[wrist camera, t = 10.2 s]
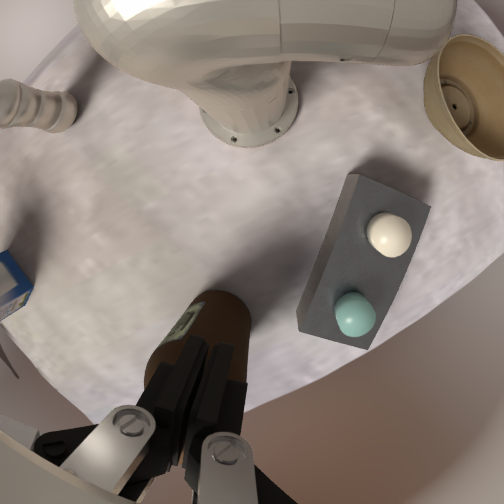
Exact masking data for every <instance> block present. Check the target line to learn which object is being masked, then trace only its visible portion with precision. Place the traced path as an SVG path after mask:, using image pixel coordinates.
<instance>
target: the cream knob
mask: <svg viewBox="0 0 504 504" xmlns="http://www.w3.org/2000/svg"><path fill="white" fill-rule="evenodd" d="M367 238H368V241H369V243H370V244H371V245H372V246H373V247H374V248H375V249H376V250H378V251H379V252H380V253H381V254H383V255H384V256H387V257H397V256H400V255H401V254H403V253H404V252H405V251H406V250H407V249H408V247H409V245H410V243H411V239H412V232H411V228H410V226H409V224H408V223H407V222H406V221H405V220H404V219H403V218H401V217H398V216H396V215H393V214H390V213H379V214H377V215H375V216H374V217H373V218H372V219H371V220H370V222H369V224H368V227H367Z"/></svg>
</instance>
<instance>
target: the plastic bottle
mask: <svg viewBox="0 0 504 504" xmlns="http://www.w3.org/2000/svg"><path fill="white" fill-rule="evenodd" d="M77 111H78V106H77V102H76V99H75V98H74V97H73V96H72V95H70V94H69V93H67V92H59V91H56V92H50V91H42V90H39V89H35V88H32V87H29V86H27V85H25V84H23V83H20V82H18V81H16V80H13V79H5V80H2V81H0V129H4V128H10V127H33V128H38V129H42V130H44V131H46V132H49V133H58V132H63V131H65V130H66V129H67V128H69V127H70V126H71V124H72V123H73V122H74V120H75V118H76V115H77Z"/></svg>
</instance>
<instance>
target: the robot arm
mask: <svg viewBox="0 0 504 504" xmlns="http://www.w3.org/2000/svg"><path fill="white" fill-rule="evenodd" d="M74 8H75V13H76V18H77V21H78V23H79V26H80V28H81V30H82V32H83V34H84V36H85V37H86V39H87V41H88V42H89V43H90V45H91V46H92V47H93V48H94V49H95V51H96V52H98V53H99V54H100V55H101V56H102V57H103V58H104V59H105V60H106V61H108V62H109V63H110V64H112V65H113V66H115V67H116V68H118V69H120V70H121V71H123V72H125V73H127V74H129V75H131V76H133V77H136V78H139V79H141V80H144V81H147V82H150V83H154V84H157V85H161V86H165V87H169V88H172V89H176V90H180V91H181V92H183V93H184V94H186V95H187V96H188V97H189V98H190V99H191V100H192V101H194V102H195V103H196V104H197V105H198V106H199V108H200V114H201V117H202V119H203V122H204V123H205V125H206V127H207V128H208V130H209V131H210V132H211V133H212V134H213V135H214V136H216V137H217V138H218V139H220V140H222V141H223V142H225V143H227V144H230V145H233V146H237V147H243V148H252V147H259V146H264V145H266V144H269V143H271V142H273V141H275V140H276V139H278V138H279V137H281V136H282V135H283V134H284V133H285V132H286V131H287V130H288V128H289V127H290V126H291V124H292V123H293V120H294V118H295V116H296V113H297V109H298V92H297V89H296V86H295V83H294V82H293V80H292V78H291V76H290V70H291V62H292V61H327V62H349V63H362V64H364V63H366V64H377V65H391V66H409V65H416V64H420V63H423V62H426V61H427V60H429V59H431V58H433V57H434V56H435V55H436V54H437V53H438V52H439V51H440V50H441V49H442V48H443V46H444V45H445V43H446V41H447V40H448V38H449V36H450V33H451V30H452V28H453V24H454V20H455V16H456V8H457V0H74ZM289 91H292V92H293V93H292V94H289ZM276 129H279V130H280V132H278V133H277V132H276ZM234 138H237V141H236V142H234V141H233V139H234ZM209 345H210V343H209V342H205V337H201V336H197V335H194V334H190V336H189V338H188V340H187V342H186V344H185V346H184V348H183V350H182V352H181V354H180V356H179V358H178V360H177V362H176V364H172V363H168V362H165V361H161V362H160V364H159V366H158V367H157V369H156V371H155V372H154V374H153V376H152V378H151V379H150V381H149V383H148V385H147V386H146V388H145V390H144V392H143V393H142V395H141V397H140V399H139V401H138V402H137V404H136V406H134V405H123V406H119V407H117V408H115V409H114V410H112V411H111V412H110V413H109V414H108V415H107V416H106V417H105V418H104V420H103V421H102V422H101V423H100V424H96V425H91V426H85V427H79V428H73V429H68V430H61V431H54V432H48V433H45V434H42V433H39V431H38V429H35V428H33V427H30V426H27V425H25V424H22V423H20V422H17V421H15V420H12V419H10V418H8V417H5V416H3V415H1V414H0V504H140V503H141V501H142V500H143V498H144V496H145V495H146V493H147V492H148V490H149V489H150V487H151V485H152V483H153V482H154V480H155V477H156V476H159V475H162V474H165V472H166V471H168V472H169V471H170V468H171V465H174V466H177V465H178V463H179V460H180V457H181V454H182V451H183V448H184V455H183V462H182V468H185V469H186V471H185V478H184V479H185V481H186V482H187V483H188V484H189V486H190V487H191V488H192V489H193V492H192V504H297V503H296V502H295V501H294V500H293V499H292V498H290V497H289V496H288V495H287V494H286V493H285V492H284V491H282V490H281V489H280V488H279V487H278V486H277V485H275V484H274V483H273V482H272V481H271V480H270V479H269V478H268V477H267V476H266V475H265V474H264V473H263V472H261V470H260V469H258V468H257V467H256V466H255V465H254V460H253V451H252V448H251V446H250V444H249V443H248V442H247V441H246V440H245V439H244V438H242V437H241V436H240V433H241V426H242V420H243V413H244V406H245V399H246V392H247V385H248V383H246V382H241V381H237V380H232V379H228V378H227V376H228V372H229V368H230V364H231V360H232V355H233V351H234V347H235V345H233V344H229V343H225V342H220V345H217V344H214V346H213V348H212V351H211V354H210V357H209V360H208V363H207V365H206V362H207V356H208V351H209ZM205 367H206V368H205ZM184 445H185V447H184Z"/></svg>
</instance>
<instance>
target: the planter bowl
mask: <svg viewBox="0 0 504 504" xmlns="http://www.w3.org/2000/svg"><path fill="white" fill-rule="evenodd" d="M453 104H454V105H455V106H456V109H454V108H453ZM424 105H425V110H426V113H427V115H428V117H429V119H430V121H431V123H432V124H433V126H434V127H435V128H436V129H437V130H438V131H439V132H440V133H441V134H442V135H443V136H444V137H445V138H446V139H447V140H448V141H450V142H451V143H452V144H453V145H455V146H456V147H458V148H459V149H461V150H463V151H465V152H467V153H469V154H471V155H474V156H477V157H482V158H488V159H491V160H495V161H504V55H503V53H502V52H501V51H499V50H498V49H497V48H496V47H495V46H493V45H492V44H491V43H489V42H488V41H486V40H484V39H482V38H480V37H477V36H474V35H470V34H459V35H455V36H453V37H451V38H449V39H448V40H447V41H446V43H445V45H444V46H443V48H442V49H441V50H440V51H439V52H438V53H437V54H436V55H435V56H434V57H433V58H432V59H431V61H430V63H429V65H428V67H427V70H426V74H425V79H424Z"/></svg>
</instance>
